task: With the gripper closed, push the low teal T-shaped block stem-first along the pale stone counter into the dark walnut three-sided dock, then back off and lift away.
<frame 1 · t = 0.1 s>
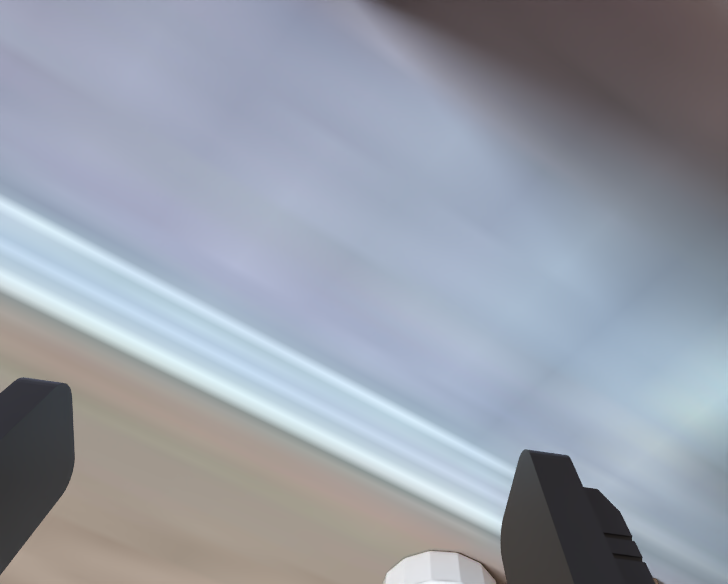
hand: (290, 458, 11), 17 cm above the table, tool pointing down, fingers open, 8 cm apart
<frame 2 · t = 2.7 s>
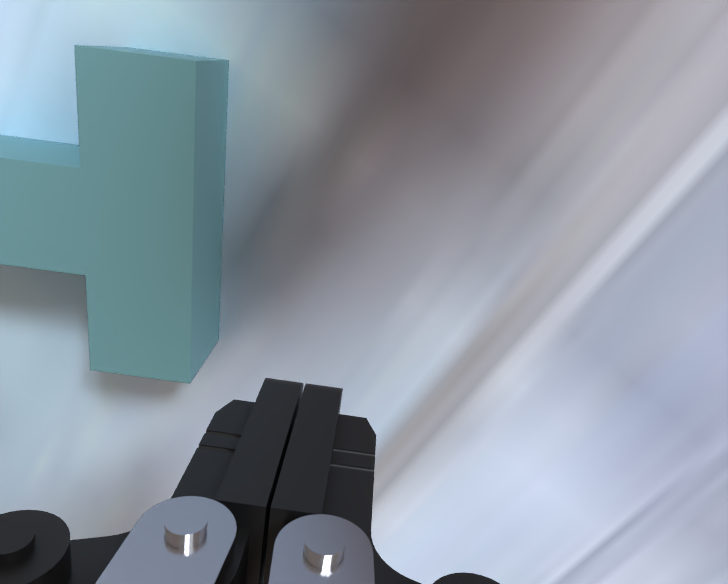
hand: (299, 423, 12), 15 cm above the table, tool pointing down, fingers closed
teal T-block: (94, 194, 26), on the table
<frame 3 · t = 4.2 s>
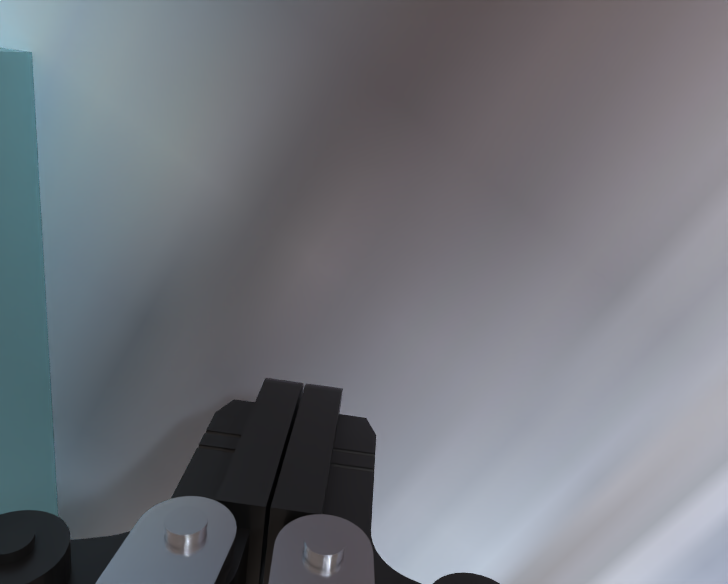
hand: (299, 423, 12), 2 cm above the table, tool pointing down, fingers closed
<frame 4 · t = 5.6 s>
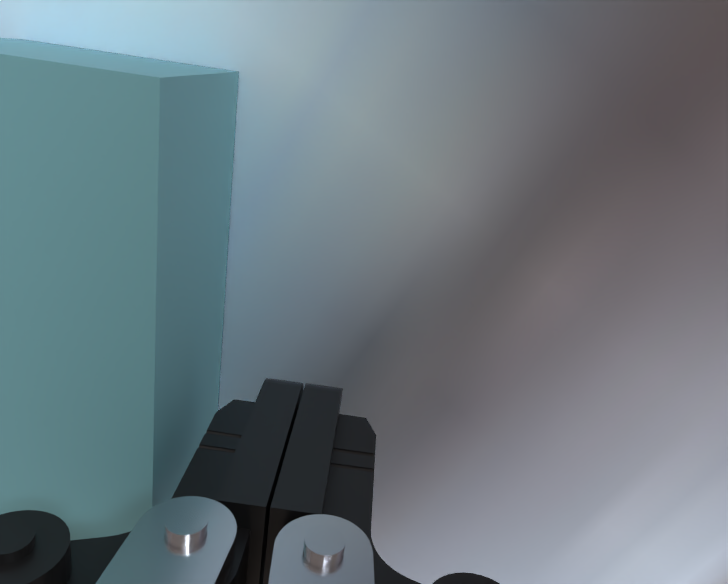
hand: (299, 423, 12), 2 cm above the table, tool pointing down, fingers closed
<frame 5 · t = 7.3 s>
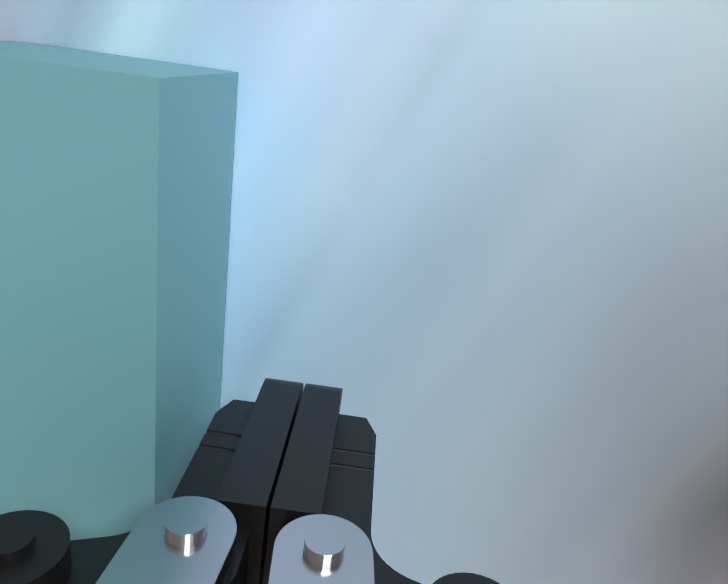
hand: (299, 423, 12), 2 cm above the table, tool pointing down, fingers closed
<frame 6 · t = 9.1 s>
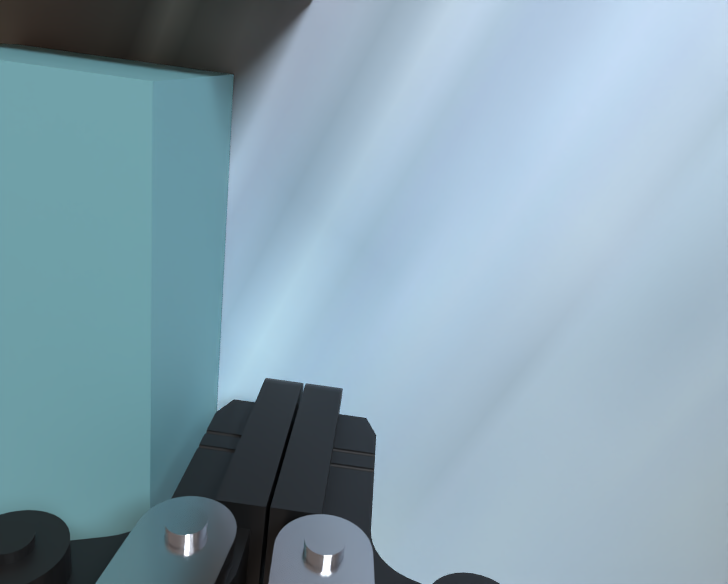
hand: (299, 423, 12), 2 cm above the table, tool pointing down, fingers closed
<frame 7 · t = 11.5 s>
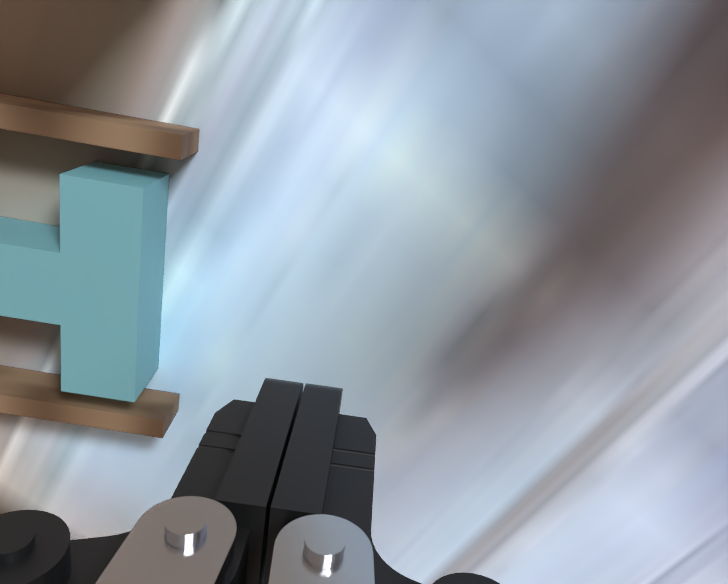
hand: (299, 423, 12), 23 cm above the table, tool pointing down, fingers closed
teal T-block: (67, 261, 35), on the table
walnut dock: (74, 262, 35), on the table
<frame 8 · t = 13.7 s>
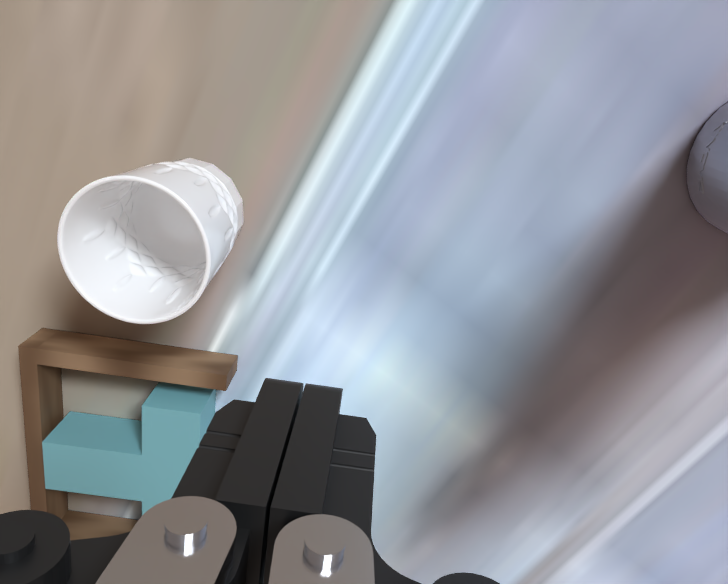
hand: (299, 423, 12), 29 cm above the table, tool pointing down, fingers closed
white cup: (195, 208, 41), on the table
teal T-block: (142, 443, 47), on the table
walnut dock: (147, 444, 47), on the table
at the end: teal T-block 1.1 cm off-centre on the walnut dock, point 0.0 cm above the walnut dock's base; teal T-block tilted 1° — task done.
